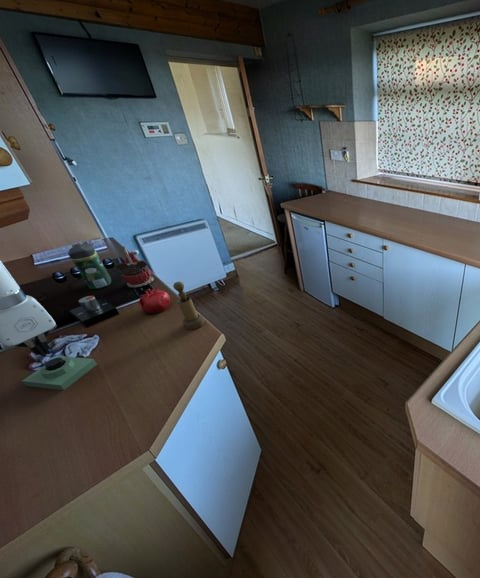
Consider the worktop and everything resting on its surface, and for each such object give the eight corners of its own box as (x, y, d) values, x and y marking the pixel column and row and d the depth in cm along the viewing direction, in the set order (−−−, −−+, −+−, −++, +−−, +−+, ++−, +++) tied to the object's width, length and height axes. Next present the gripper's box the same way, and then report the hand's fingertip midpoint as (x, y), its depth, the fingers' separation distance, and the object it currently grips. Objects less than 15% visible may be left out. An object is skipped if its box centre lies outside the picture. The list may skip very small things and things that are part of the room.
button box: (26, 386, 83) (17, 376, 81) (62, 360, 92) (55, 351, 90) (64, 390, 82) (56, 380, 80) (97, 364, 91) (91, 354, 89)
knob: (87, 313, 107) (80, 303, 105) (82, 310, 109) (75, 299, 107) (102, 307, 111) (96, 297, 108) (97, 304, 113) (90, 293, 110)
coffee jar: (90, 282, 132) (67, 244, 122) (112, 277, 136) (92, 240, 126) (88, 292, 125) (63, 252, 116) (111, 286, 129) (90, 248, 120)
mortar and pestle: (180, 327, 106) (161, 285, 97) (195, 317, 111) (179, 276, 102) (193, 331, 104) (175, 289, 95) (208, 321, 109) (192, 280, 100)
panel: (73, 317, 111) (69, 310, 109) (105, 304, 118) (101, 297, 116) (86, 327, 105) (82, 320, 104) (119, 313, 113) (115, 307, 111)
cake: (123, 290, 127) (103, 252, 117) (130, 280, 134) (111, 244, 125) (153, 286, 130) (135, 248, 121) (157, 276, 138) (141, 240, 128)
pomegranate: (176, 299, 121) (168, 280, 116) (168, 313, 113) (159, 293, 108) (148, 303, 119) (139, 283, 114) (138, 317, 111) (127, 297, 106)
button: (44, 370, 84) (40, 365, 83) (57, 361, 87) (54, 356, 86) (55, 371, 83) (52, 367, 82) (68, 362, 86) (65, 357, 85)
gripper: (-35, 320, 66) (15, 376, 75) (49, 288, 78) (84, 341, 87) (-52, 312, 68) (-1, 368, 77) (33, 282, 80) (68, 334, 89)
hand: (44, 353), depth 82 cm, fingers closed
